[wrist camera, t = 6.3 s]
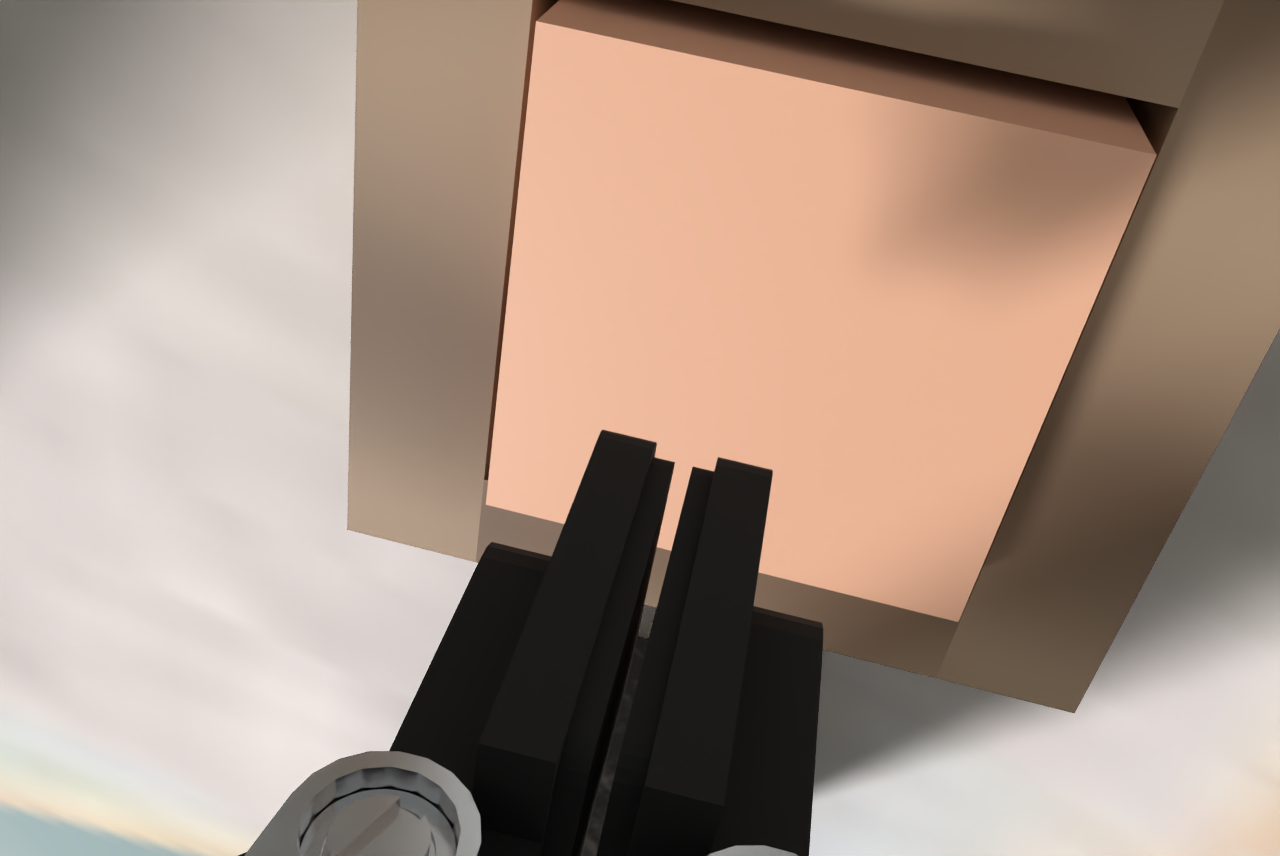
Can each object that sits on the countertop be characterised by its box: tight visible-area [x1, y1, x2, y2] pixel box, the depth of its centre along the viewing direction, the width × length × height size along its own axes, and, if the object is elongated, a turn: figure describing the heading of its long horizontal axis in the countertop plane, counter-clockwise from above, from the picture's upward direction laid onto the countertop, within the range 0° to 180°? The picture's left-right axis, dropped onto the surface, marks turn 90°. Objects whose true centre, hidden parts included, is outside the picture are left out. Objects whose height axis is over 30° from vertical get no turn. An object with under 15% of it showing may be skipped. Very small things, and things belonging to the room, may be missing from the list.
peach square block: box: [486, 0, 1156, 622], centre depth 17 cm, size 7×7×5 cm
